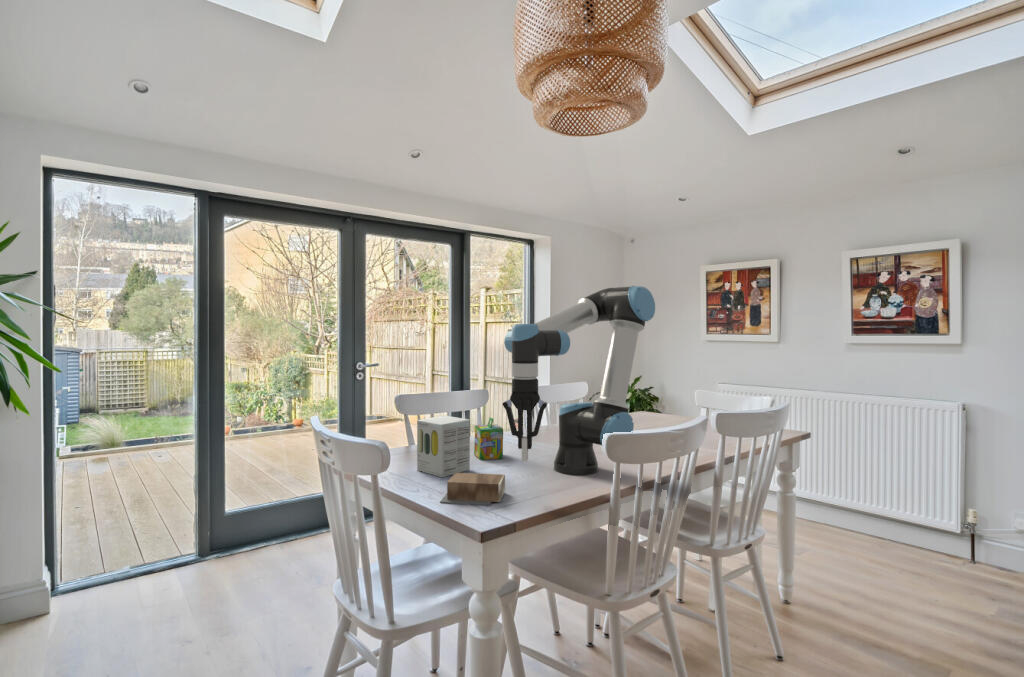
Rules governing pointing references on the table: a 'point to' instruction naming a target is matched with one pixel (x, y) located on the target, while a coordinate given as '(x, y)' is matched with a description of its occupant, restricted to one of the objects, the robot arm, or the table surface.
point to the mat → (464, 501)
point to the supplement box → (443, 445)
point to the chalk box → (488, 441)
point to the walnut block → (476, 487)
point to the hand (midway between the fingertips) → (525, 460)
